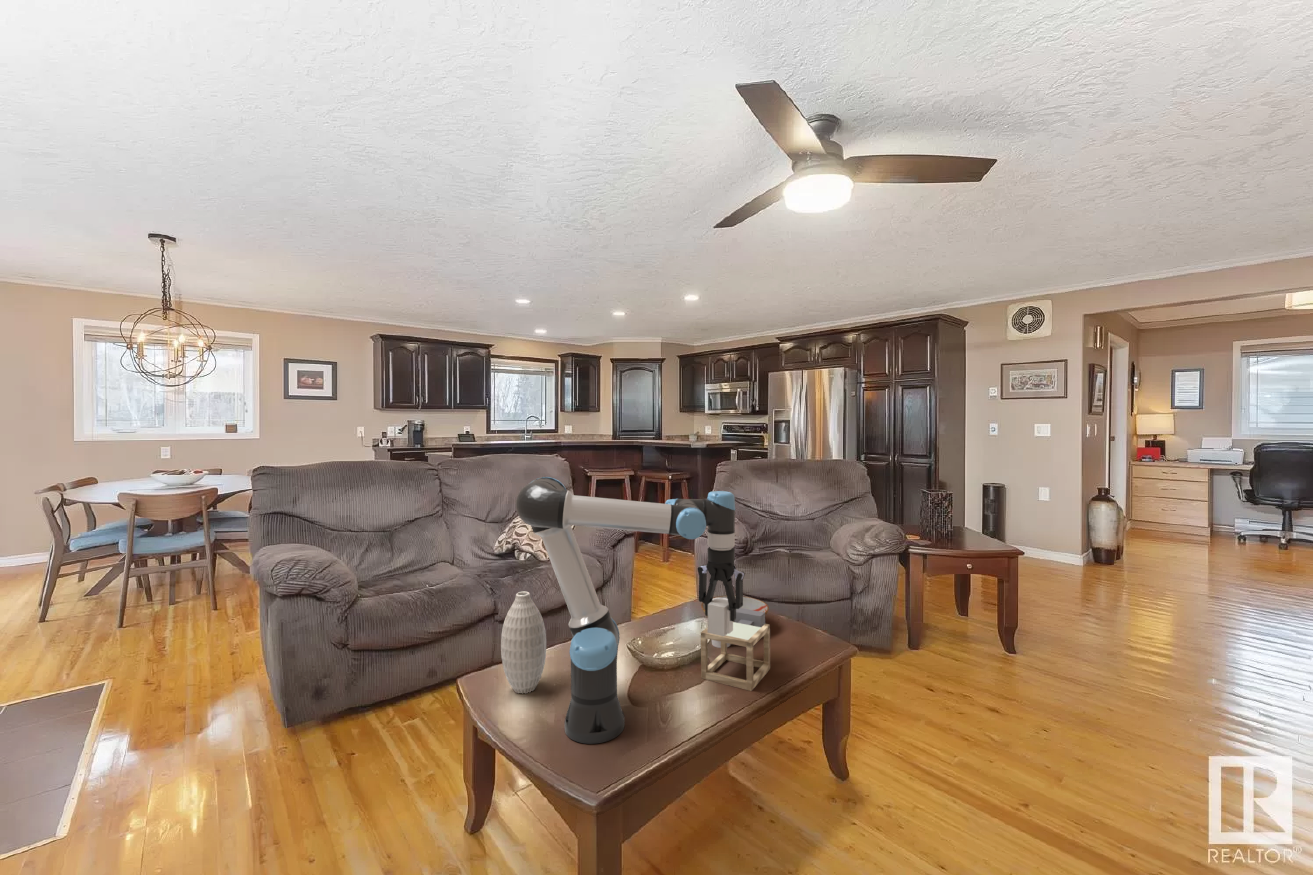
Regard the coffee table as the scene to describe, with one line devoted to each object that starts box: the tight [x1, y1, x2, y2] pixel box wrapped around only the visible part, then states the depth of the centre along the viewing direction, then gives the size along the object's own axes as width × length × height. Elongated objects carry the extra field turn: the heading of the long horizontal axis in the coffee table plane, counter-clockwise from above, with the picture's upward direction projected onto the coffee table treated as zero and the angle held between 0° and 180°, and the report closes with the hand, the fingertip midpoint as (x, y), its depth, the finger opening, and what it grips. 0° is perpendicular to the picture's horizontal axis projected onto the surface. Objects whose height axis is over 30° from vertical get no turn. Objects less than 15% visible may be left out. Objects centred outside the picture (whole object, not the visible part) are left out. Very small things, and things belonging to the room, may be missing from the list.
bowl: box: [700, 595, 770, 622], centre depth 207 cm, size 25×25×8 cm
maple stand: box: [700, 623, 771, 692], centre depth 169 cm, size 16×16×14 cm
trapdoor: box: [726, 608, 766, 640], centre depth 172 cm, size 20×12×5 cm, turn 149°
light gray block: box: [707, 598, 729, 636], centre depth 154 cm, size 6×5×8 cm
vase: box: [500, 591, 547, 695], centre depth 160 cm, size 13×13×28 cm
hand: (720, 629), depth 154 cm, fingers closed on light gray block, 5 cm apart
